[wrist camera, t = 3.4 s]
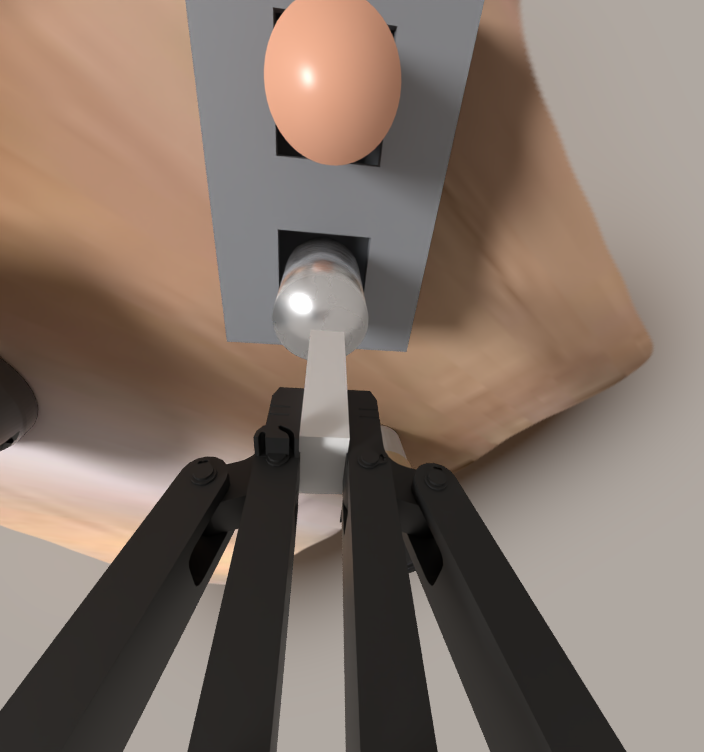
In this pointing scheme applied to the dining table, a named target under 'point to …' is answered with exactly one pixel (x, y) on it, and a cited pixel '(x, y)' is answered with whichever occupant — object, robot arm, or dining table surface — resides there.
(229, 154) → the block with square holes
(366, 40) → the brown egg
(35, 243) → the dining table surface
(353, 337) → the silver rounded piece
